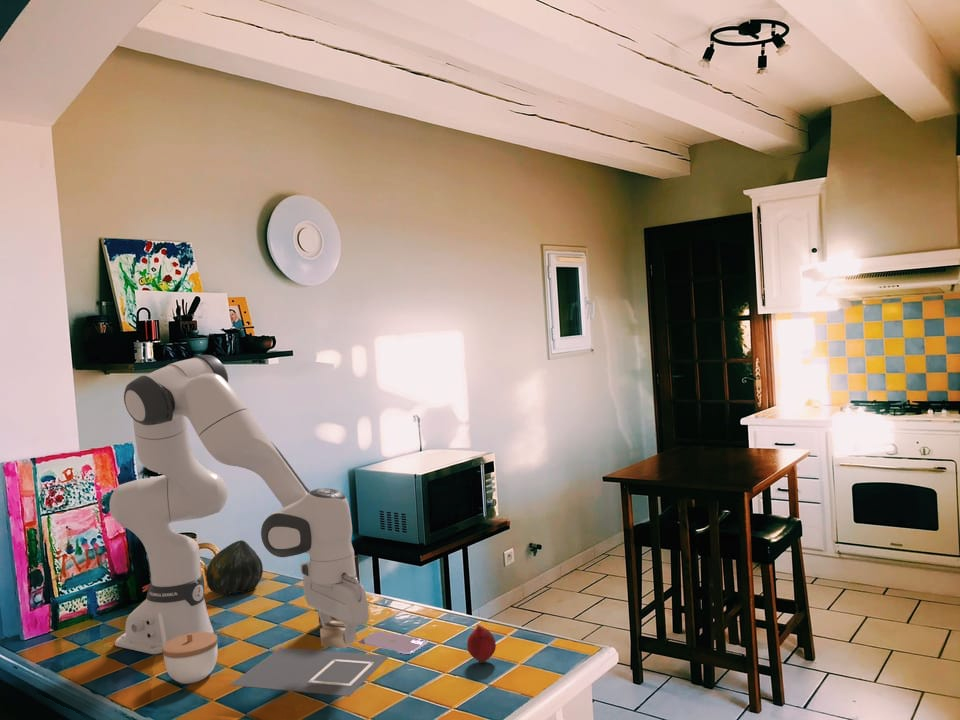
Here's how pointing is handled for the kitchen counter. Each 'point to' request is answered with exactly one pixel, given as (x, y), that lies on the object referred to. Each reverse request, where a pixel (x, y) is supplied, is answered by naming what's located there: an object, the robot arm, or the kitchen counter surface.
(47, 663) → the kitchen counter surface
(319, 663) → the rubber mat
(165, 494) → the robot arm
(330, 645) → the taped cardboard box
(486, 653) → the onion
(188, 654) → the lidded jar
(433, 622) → the kitchen counter surface
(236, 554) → the squash
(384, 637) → the mobile phone
